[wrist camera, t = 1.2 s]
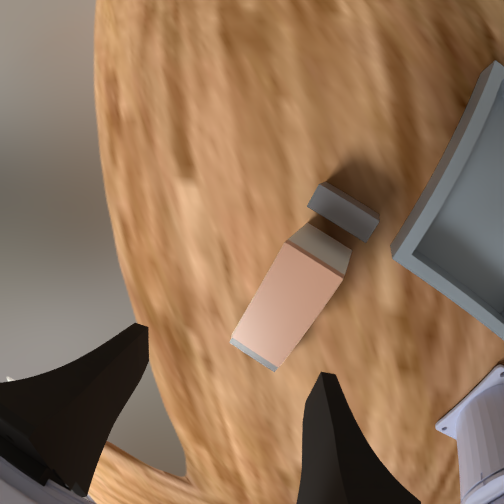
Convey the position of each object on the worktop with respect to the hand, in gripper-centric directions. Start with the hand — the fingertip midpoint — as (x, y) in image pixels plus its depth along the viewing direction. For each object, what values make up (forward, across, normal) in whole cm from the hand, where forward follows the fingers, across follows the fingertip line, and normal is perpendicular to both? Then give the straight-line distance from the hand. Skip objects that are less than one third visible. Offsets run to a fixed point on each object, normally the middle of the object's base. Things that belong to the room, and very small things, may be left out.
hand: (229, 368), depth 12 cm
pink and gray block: (+11, -3, +1) cm, 11 cm away
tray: (+8, -14, -9) cm, 19 cm away
